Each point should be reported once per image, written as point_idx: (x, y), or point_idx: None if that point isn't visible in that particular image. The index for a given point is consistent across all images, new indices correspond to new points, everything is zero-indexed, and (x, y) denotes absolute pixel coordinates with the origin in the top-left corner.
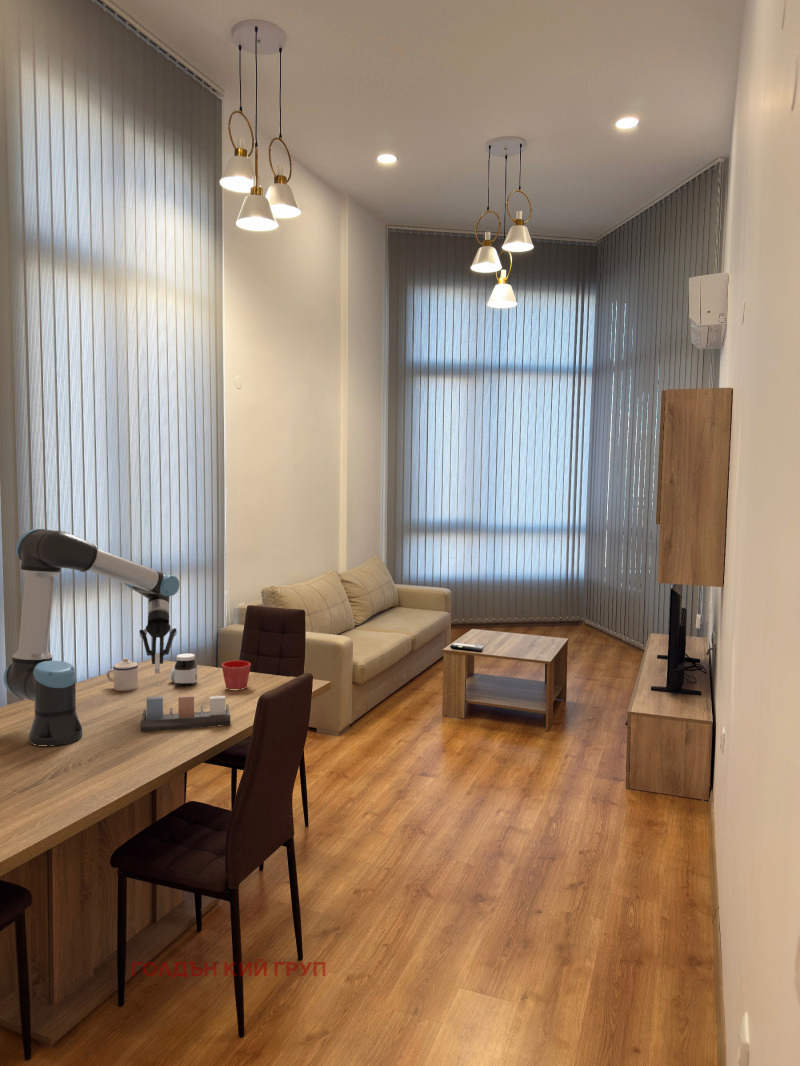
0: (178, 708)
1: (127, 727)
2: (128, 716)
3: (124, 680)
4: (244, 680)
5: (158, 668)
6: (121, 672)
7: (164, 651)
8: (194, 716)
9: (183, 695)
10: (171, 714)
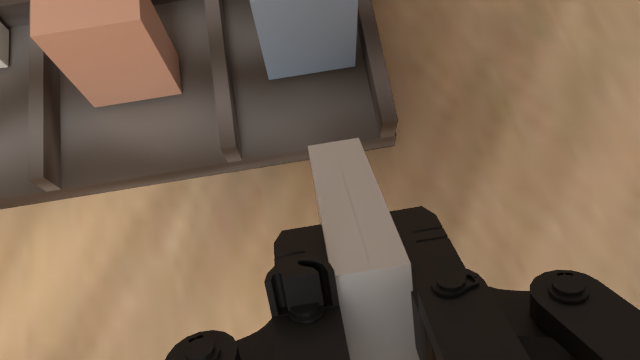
0: (160, 21)
1: (446, 40)
2: (506, 221)
3: None
4: None
5: (317, 147)
6: None
7: (254, 356)
8: (95, 108)
9: (104, 18)
10: (210, 33)
